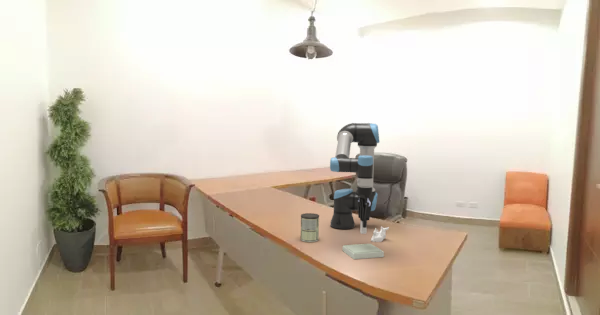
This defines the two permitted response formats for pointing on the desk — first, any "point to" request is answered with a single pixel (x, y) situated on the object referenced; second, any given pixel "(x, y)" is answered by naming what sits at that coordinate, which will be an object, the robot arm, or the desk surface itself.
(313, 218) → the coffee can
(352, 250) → the tray
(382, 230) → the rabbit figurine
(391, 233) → the desk surface
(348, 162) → the robot arm
